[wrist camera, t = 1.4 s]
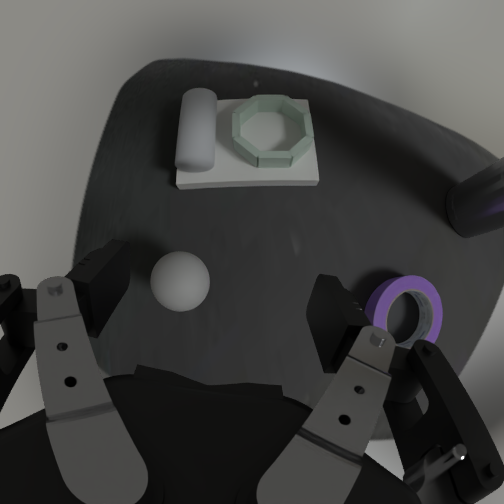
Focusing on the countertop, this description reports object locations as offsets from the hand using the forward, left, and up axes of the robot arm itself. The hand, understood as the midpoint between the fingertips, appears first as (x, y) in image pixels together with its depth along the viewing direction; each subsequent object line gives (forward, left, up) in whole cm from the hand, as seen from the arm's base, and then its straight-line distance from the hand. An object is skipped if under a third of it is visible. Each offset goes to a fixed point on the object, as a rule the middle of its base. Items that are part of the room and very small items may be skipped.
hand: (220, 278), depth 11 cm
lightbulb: (+6, -1, -24) cm, 25 cm away
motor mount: (-1, -21, -24) cm, 32 cm away
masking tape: (-22, +5, -25) cm, 33 cm away
